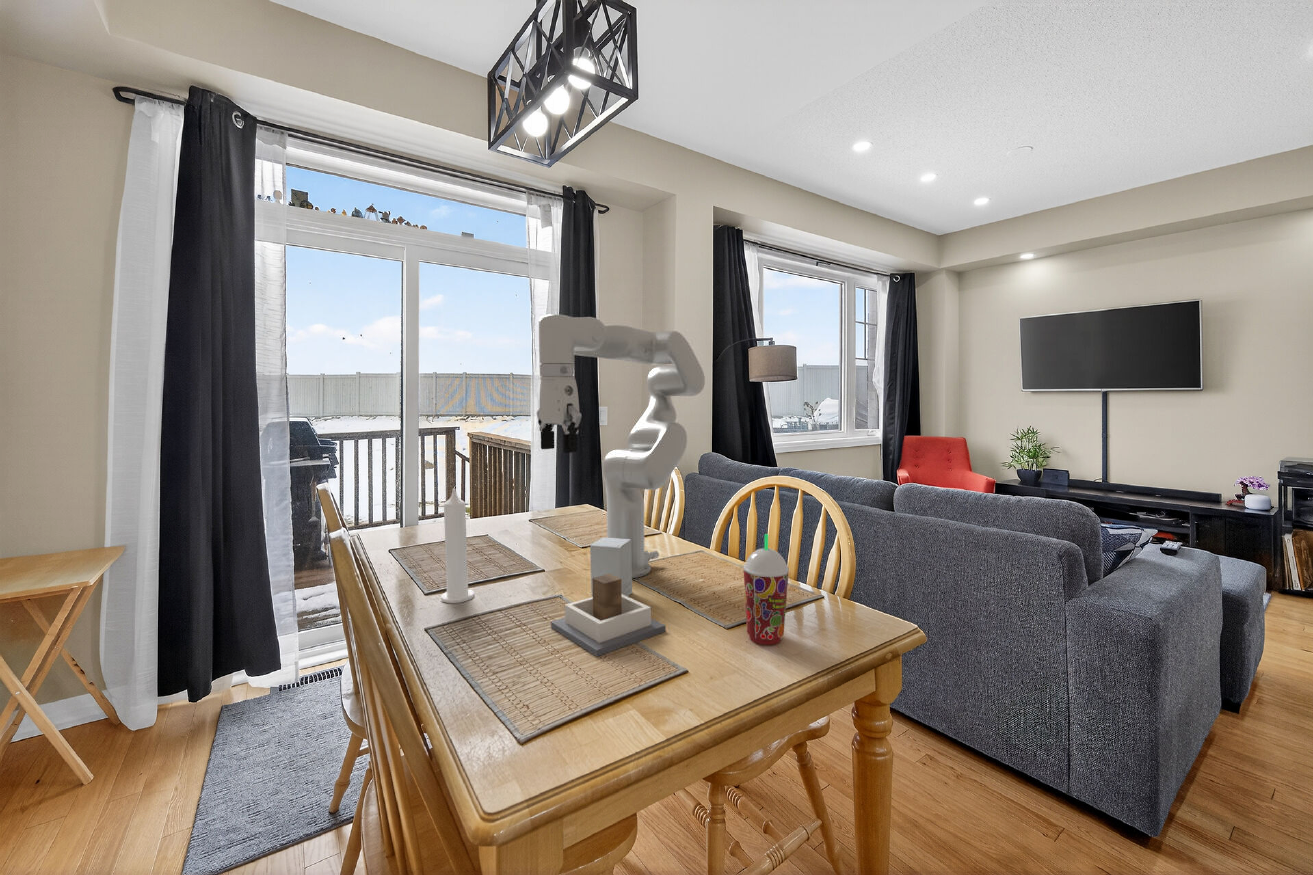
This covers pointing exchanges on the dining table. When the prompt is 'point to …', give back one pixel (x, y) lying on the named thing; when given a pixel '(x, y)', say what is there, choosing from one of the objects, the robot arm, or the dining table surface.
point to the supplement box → (612, 561)
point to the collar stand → (607, 626)
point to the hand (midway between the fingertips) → (558, 450)
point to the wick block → (606, 597)
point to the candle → (456, 551)
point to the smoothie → (765, 595)
